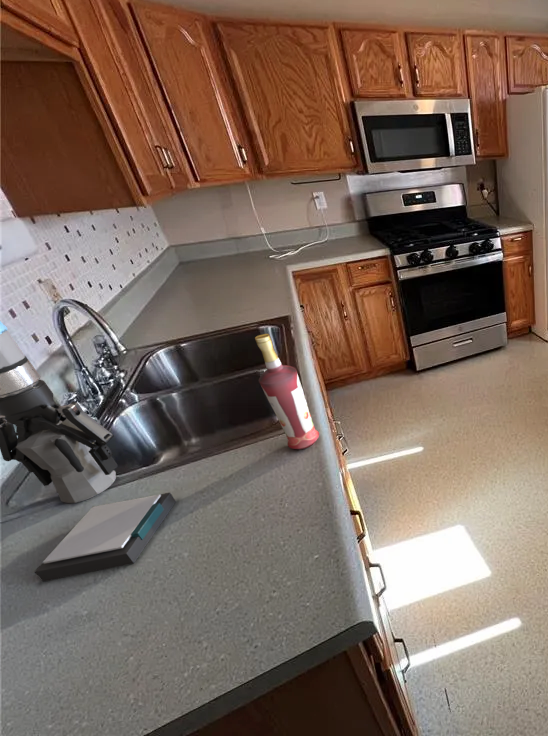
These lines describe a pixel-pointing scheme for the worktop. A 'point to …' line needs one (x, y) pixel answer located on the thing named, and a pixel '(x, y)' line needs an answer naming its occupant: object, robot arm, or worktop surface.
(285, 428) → the liquor
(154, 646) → the worktop surface
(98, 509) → the scale
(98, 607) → the worktop surface
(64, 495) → the coffeepot
